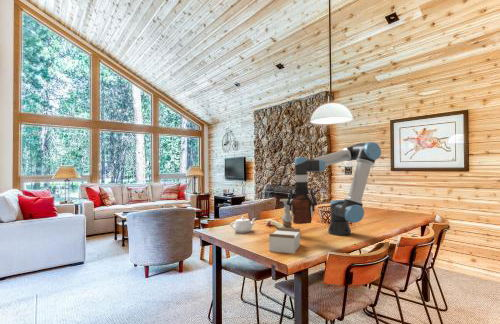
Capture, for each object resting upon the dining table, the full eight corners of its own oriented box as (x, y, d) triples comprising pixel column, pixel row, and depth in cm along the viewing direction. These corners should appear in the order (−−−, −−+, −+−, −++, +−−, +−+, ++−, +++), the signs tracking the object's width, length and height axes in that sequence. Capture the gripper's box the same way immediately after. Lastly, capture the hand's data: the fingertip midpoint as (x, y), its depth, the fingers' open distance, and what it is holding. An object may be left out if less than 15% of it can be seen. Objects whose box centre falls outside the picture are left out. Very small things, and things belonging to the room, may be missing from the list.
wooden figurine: (308, 221, 179) (307, 193, 180) (312, 223, 173) (312, 194, 173) (291, 222, 176) (290, 194, 176) (295, 225, 170) (294, 195, 170)
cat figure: (290, 231, 208) (271, 222, 229) (290, 219, 208) (271, 212, 229) (279, 233, 203) (260, 224, 224) (280, 221, 202) (261, 213, 224)
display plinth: (300, 244, 168) (299, 228, 168) (294, 253, 151) (294, 235, 151) (277, 242, 173) (277, 227, 173) (269, 251, 156) (269, 233, 156)
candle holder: (295, 236, 188) (294, 200, 189) (278, 235, 191) (278, 200, 191) (295, 232, 199) (295, 198, 200) (280, 231, 201) (279, 198, 202)
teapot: (235, 235, 192) (235, 219, 192) (225, 231, 204) (225, 216, 204) (261, 230, 204) (261, 216, 205) (251, 227, 216) (250, 213, 216)
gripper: (321, 181, 174) (322, 216, 174) (284, 181, 183) (284, 214, 182) (320, 181, 167) (321, 218, 167) (281, 182, 176) (282, 216, 175)
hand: (302, 216), depth 175 cm, fingers closed on wooden figurine, 11 cm apart
